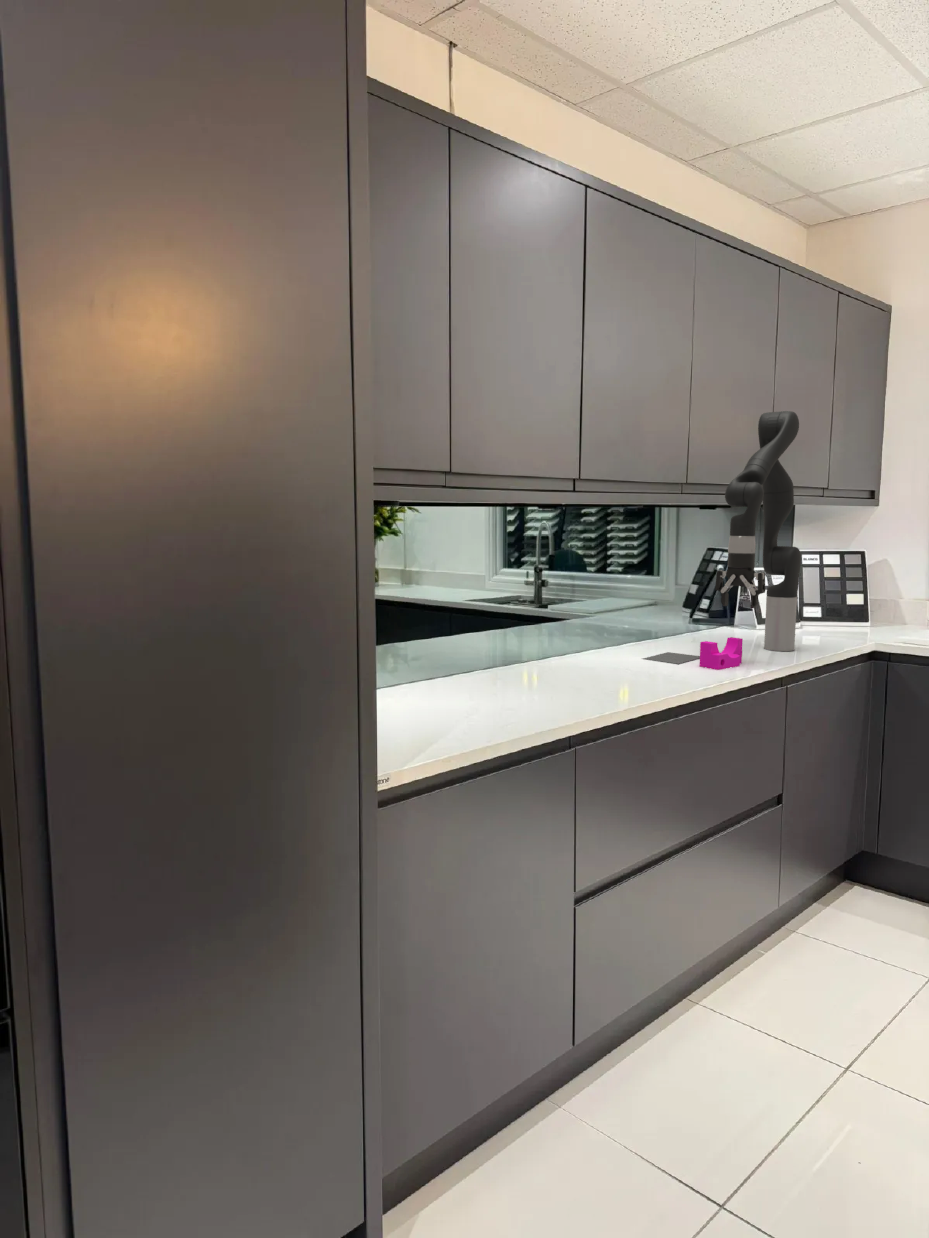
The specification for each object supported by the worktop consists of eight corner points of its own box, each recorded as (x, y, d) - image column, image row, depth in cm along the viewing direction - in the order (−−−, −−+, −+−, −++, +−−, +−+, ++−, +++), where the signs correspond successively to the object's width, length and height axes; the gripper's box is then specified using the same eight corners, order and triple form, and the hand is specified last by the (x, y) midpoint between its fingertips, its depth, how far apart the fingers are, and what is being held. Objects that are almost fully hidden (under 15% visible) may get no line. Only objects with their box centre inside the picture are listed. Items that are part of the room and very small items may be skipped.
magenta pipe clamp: (717, 671, 243) (719, 644, 242) (699, 667, 248) (700, 642, 247) (749, 665, 252) (750, 639, 252) (730, 662, 257) (731, 637, 256)
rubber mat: (667, 654, 270) (667, 652, 270) (703, 658, 262) (703, 656, 262) (641, 660, 258) (641, 658, 258) (678, 665, 250) (678, 663, 250)
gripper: (770, 552, 250) (767, 607, 252) (724, 550, 260) (721, 604, 262) (760, 552, 245) (757, 610, 247) (712, 551, 254) (710, 606, 256)
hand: (739, 606), depth 254 cm, fingers open, 8 cm apart
